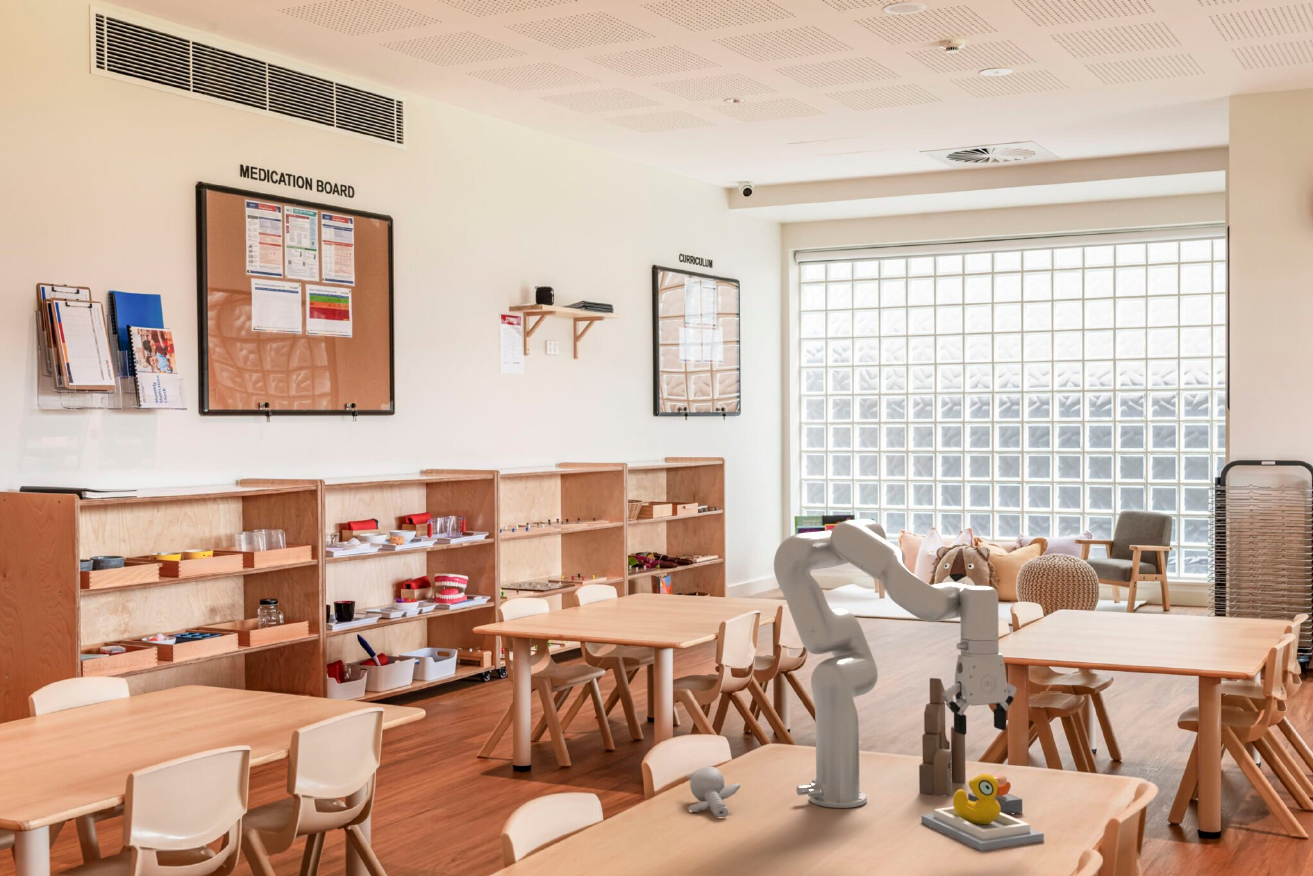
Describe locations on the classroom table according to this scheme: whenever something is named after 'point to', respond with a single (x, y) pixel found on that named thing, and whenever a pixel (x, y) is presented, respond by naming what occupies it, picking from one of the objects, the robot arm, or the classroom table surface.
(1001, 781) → the button
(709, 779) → the toy creature
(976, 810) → the duckling
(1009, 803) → the button base
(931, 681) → the wooden toy
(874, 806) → the classroom table surface
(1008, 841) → the tray
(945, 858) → the classroom table surface
